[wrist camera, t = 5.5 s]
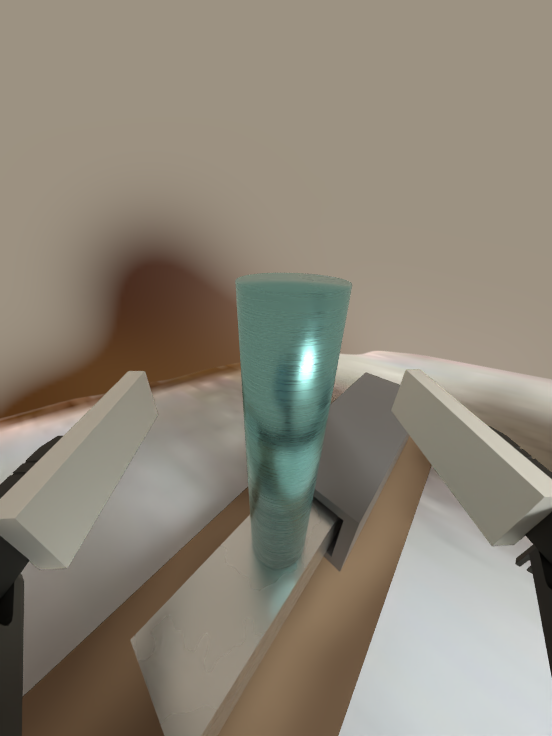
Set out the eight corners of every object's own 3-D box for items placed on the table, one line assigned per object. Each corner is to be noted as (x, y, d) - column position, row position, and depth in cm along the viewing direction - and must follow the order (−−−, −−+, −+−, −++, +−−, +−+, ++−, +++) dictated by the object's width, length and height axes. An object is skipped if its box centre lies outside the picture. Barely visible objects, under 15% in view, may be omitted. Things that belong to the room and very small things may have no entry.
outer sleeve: (407, 440, 26) (427, 395, 23) (340, 572, 15) (359, 523, 12) (355, 414, 30) (365, 372, 26) (271, 506, 19) (273, 456, 16)
